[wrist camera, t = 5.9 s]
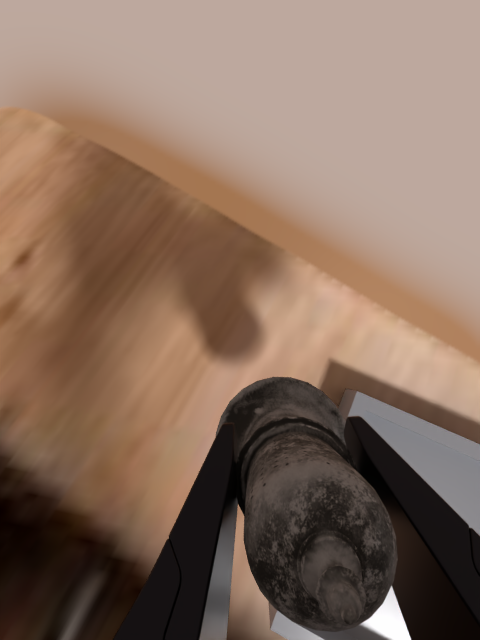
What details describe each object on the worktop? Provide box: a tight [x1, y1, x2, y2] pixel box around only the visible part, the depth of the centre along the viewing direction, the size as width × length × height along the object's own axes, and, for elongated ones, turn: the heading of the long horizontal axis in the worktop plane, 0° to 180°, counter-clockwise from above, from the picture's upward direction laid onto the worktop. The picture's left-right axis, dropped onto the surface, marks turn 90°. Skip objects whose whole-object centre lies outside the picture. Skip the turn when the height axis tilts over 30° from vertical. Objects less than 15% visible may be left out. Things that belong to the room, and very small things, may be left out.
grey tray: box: [269, 389, 480, 640], centre depth 19 cm, size 16×14×2 cm
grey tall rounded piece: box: [216, 377, 398, 632], centre depth 9 cm, size 6×6×12 cm
